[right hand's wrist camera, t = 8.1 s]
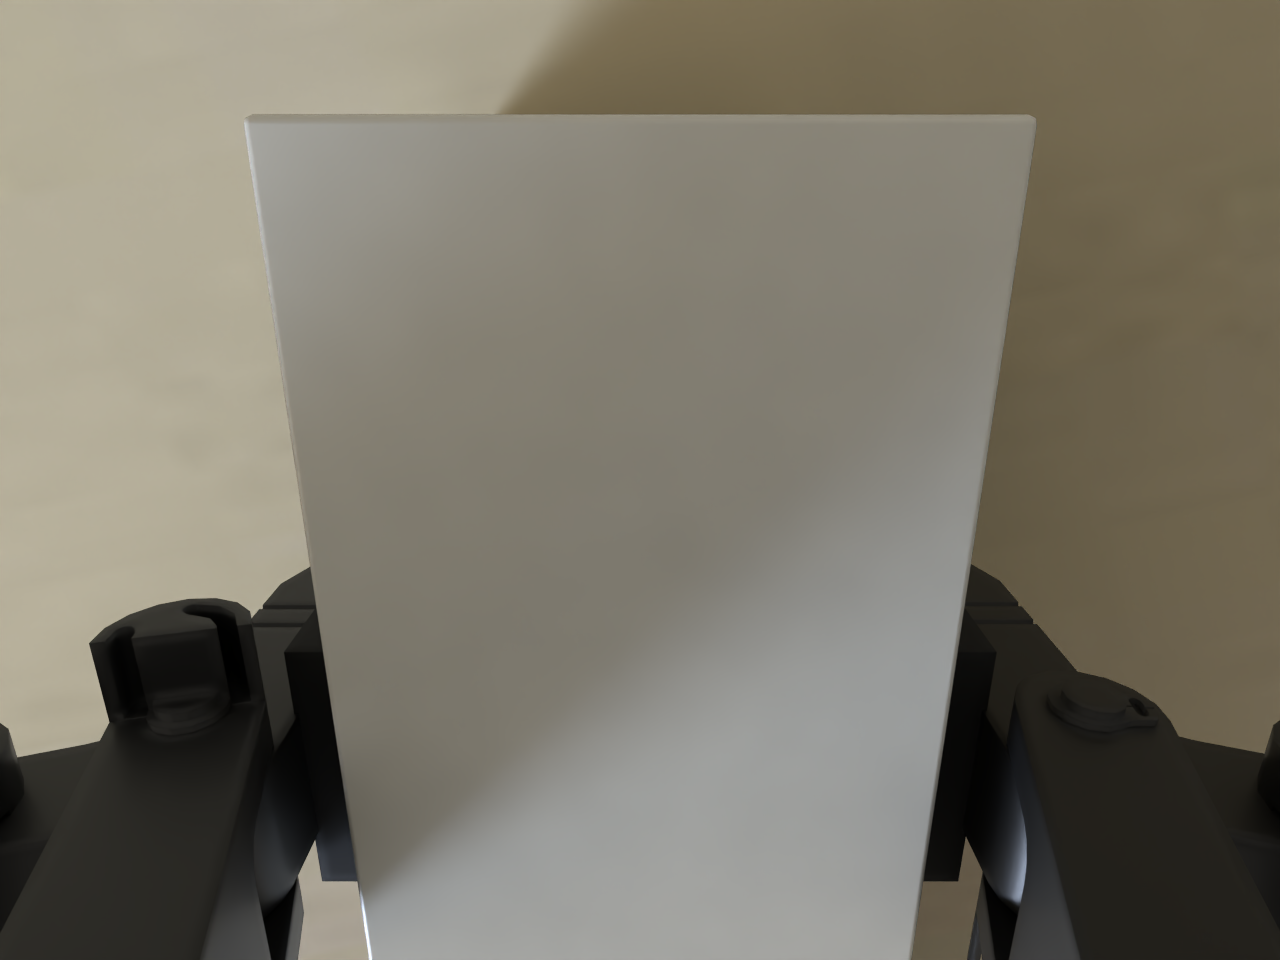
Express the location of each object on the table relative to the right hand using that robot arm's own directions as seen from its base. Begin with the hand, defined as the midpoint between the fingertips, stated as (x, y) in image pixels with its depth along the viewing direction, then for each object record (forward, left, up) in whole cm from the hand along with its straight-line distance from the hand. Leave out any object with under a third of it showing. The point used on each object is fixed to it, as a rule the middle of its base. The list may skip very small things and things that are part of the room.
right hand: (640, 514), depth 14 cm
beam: (+2, +22, -1) cm, 22 cm away
